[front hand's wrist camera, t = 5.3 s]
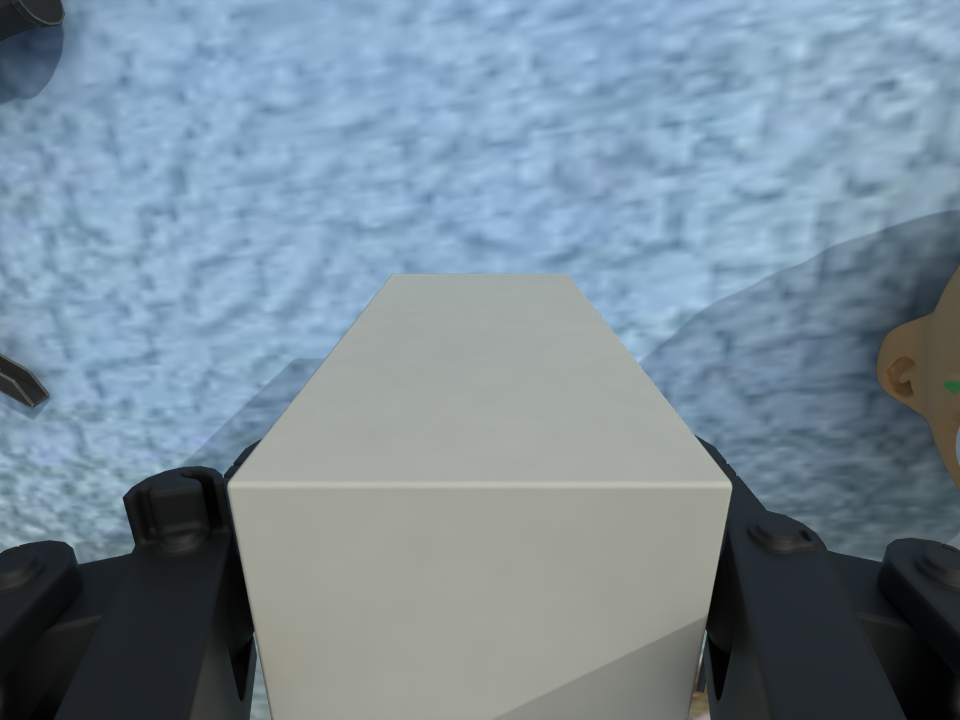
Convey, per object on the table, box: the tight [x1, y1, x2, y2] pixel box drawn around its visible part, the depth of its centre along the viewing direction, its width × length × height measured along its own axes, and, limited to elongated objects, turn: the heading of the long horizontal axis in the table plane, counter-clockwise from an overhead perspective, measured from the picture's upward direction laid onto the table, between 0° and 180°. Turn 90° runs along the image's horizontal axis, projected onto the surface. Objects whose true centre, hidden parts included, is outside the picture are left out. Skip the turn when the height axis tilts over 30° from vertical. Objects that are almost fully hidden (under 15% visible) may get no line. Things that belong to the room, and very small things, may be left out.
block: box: [227, 274, 732, 720], centre depth 12 cm, size 6×6×12 cm
